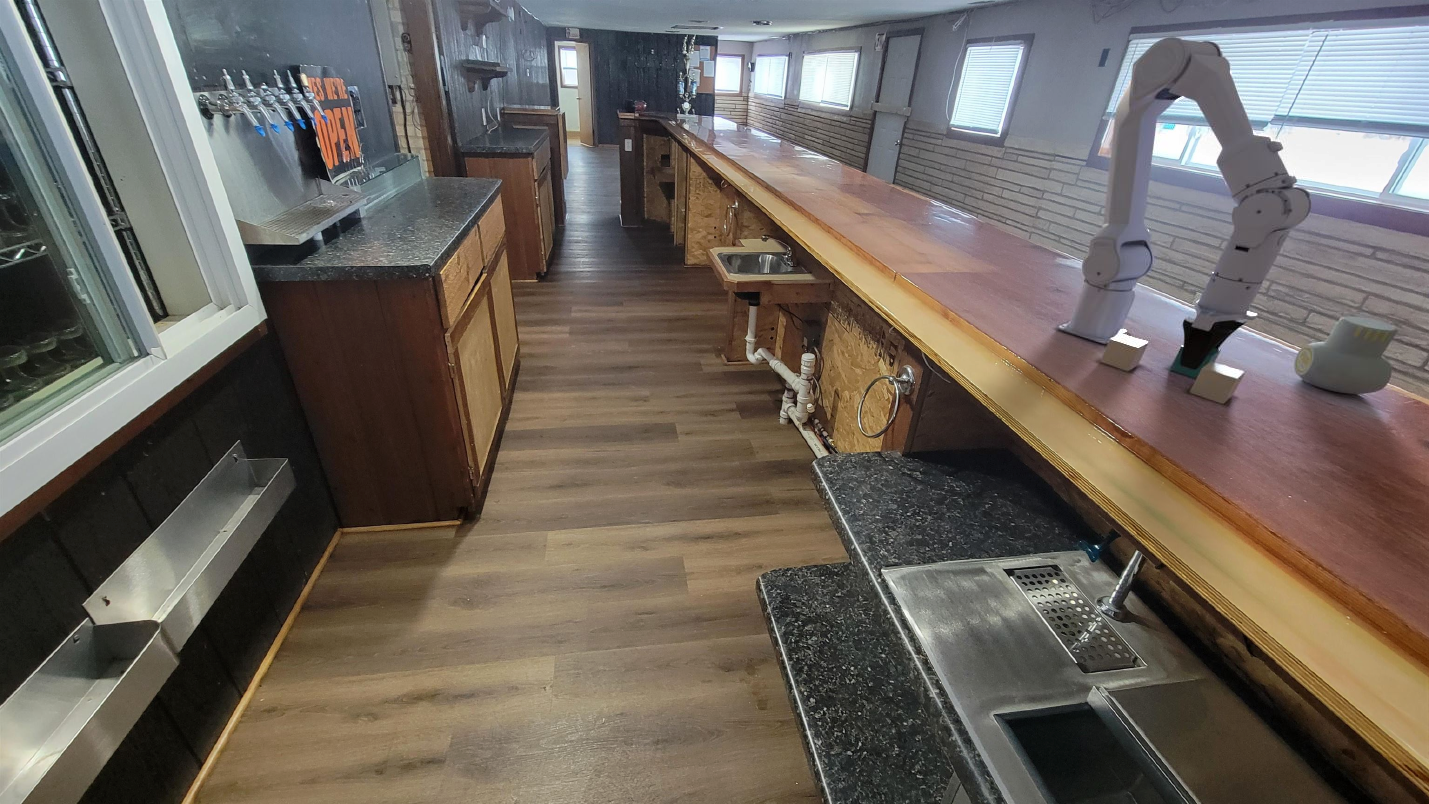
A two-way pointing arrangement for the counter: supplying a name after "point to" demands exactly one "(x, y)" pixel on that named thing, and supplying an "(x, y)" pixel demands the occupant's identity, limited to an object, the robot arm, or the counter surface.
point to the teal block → (1189, 371)
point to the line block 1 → (1124, 352)
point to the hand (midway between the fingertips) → (1193, 363)
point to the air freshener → (1348, 357)
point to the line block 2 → (1217, 382)
